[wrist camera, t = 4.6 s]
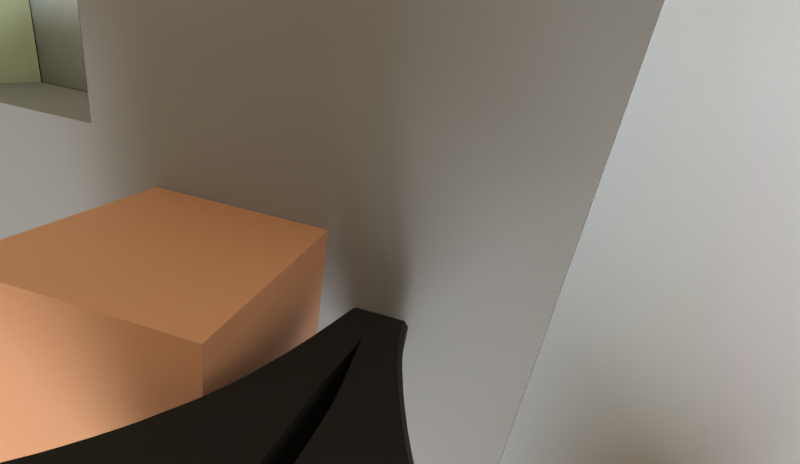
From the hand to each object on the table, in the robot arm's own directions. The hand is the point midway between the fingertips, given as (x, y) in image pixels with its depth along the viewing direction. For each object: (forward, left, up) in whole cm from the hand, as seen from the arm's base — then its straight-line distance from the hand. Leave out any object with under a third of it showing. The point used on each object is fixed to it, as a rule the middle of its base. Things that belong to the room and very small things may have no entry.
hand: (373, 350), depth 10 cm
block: (+4, 0, -1) cm, 4 cm away
